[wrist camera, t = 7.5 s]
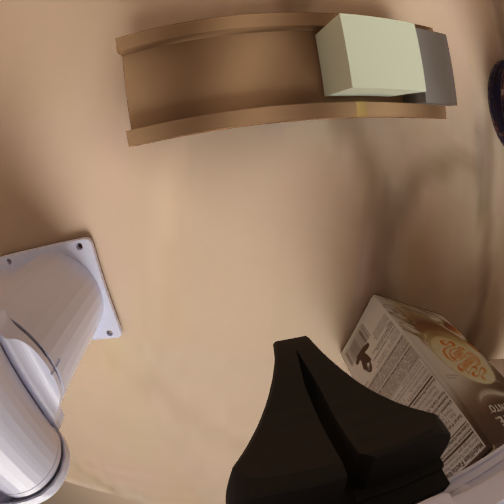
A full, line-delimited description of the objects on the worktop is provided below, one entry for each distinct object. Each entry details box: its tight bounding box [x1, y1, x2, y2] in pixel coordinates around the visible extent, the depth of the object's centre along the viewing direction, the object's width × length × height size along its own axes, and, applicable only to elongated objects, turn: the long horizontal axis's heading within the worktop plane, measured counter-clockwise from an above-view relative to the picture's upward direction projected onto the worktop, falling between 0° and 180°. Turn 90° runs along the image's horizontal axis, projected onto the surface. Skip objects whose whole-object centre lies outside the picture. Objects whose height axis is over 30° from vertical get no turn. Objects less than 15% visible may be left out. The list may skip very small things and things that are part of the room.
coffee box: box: [341, 295, 504, 478], centre depth 18 cm, size 9×6×16 cm
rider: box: [315, 13, 426, 97], centre depth 13 cm, size 4×4×4 cm
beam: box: [116, 12, 457, 147], centre depth 15 cm, size 18×6×5 cm, turn 97°
